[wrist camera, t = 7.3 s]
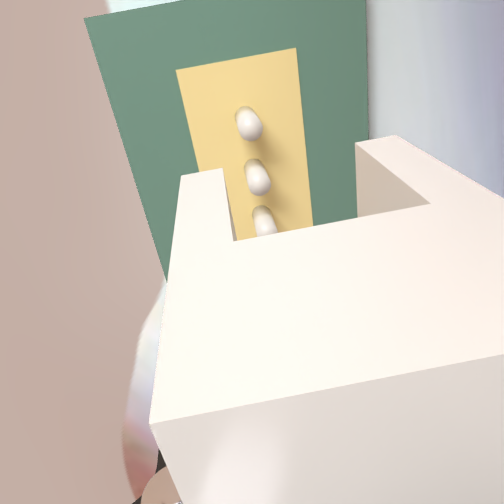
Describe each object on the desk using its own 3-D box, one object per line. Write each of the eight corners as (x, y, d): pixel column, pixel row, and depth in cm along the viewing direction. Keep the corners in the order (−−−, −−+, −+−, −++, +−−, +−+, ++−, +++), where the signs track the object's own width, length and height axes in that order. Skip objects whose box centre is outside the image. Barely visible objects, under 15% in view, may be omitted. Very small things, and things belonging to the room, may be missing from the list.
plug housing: (180, 175, 10) (148, 424, 4) (395, 134, 10) (700, 315, 4) (249, 442, 15) (282, 736, 9) (392, 414, 15) (524, 685, 9)
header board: (90, 18, 22) (66, 18, 18) (355, -31, 22) (388, -41, 18) (176, 297, 31) (172, 337, 27) (363, 260, 31) (387, 295, 27)
